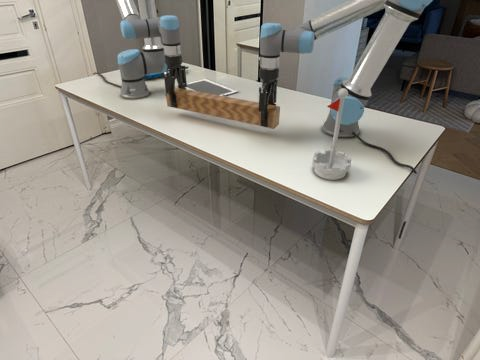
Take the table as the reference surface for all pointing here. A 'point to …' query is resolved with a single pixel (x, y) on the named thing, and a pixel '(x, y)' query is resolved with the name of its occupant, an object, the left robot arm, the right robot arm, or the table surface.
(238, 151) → the table surface
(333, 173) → the flag stand
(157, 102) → the table surface
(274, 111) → the post
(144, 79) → the submachine gun
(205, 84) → the tablet
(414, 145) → the table surface
